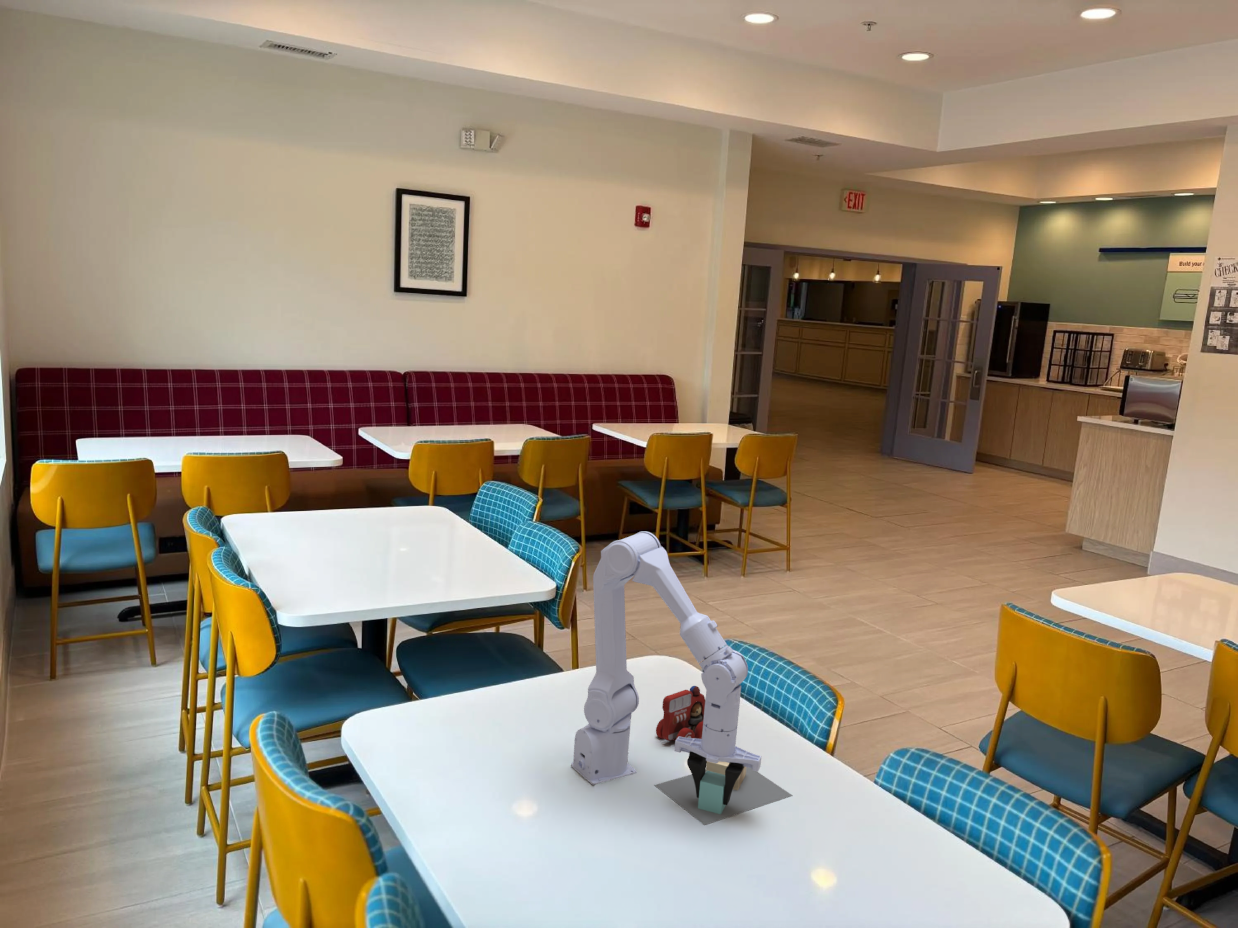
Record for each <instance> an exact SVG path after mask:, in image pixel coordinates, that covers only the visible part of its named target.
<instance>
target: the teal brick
mask: <svg viewBox="0 0 1238 928" xmlns="http://www.w3.org/2000/svg"><path fill="white" fill-rule="evenodd" d="M724 791H725V775H723V774H719V773H715V772H711V771H706V773H705V774H704V776H703V778H702V779H701V781H700V791H699V801H698V809H702V810H706V811H710V812H713V813H717V814H721V813H722V811H723V809H724V807H725V806H726V805H724V804H723V797H724Z"/></svg>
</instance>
